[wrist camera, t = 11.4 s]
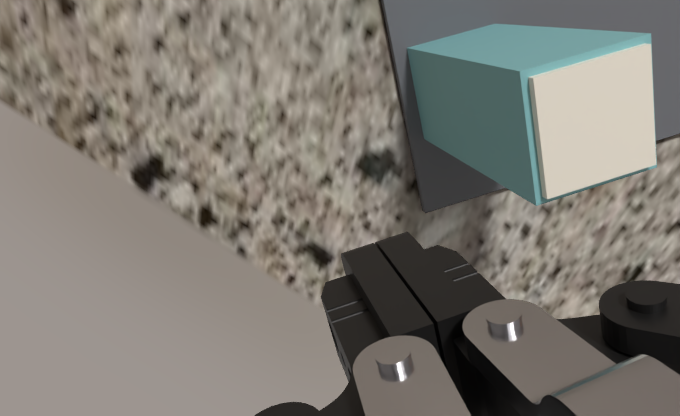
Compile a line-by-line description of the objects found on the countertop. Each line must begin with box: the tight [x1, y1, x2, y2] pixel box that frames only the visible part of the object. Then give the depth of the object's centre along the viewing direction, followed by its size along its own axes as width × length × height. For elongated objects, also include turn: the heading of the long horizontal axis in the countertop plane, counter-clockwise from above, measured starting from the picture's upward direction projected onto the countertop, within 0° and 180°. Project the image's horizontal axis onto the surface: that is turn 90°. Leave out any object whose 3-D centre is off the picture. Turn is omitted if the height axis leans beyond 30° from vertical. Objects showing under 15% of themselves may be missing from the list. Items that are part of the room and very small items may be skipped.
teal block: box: [407, 24, 657, 206], centre depth 24 cm, size 4×4×11 cm
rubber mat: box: [381, 0, 680, 213], centre depth 30 cm, size 18×12×1 cm, turn 103°
